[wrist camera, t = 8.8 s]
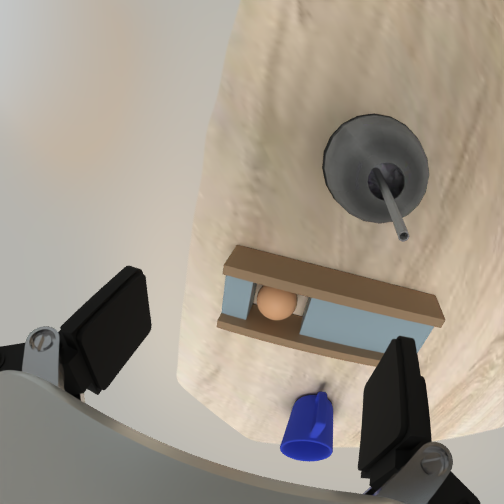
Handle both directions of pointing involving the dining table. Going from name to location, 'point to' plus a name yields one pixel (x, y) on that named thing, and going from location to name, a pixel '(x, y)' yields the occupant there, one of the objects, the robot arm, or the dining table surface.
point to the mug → (309, 429)
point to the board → (324, 308)
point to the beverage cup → (376, 170)
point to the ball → (276, 303)
